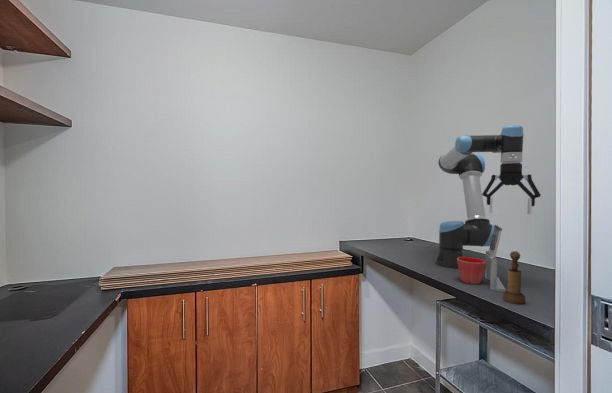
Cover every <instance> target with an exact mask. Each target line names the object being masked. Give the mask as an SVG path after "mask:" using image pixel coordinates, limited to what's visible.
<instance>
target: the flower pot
mask: <svg viewBox="0 0 612 393" xmlns="http://www.w3.org/2000/svg"><path fill="white" fill-rule="evenodd" d="M457 262H458V268H457V269H458V273H459V279H460V281H461V282H463V283H465V282H466V283H465V284H469V283H471V284H470V285H479V284H481V282H482V278H483V274H484V272H485V271H484V270H485V268H486V260H484V259H481V258H479V257H478V258H477V257H471V256H465V257H458V258H457Z"/></svg>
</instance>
